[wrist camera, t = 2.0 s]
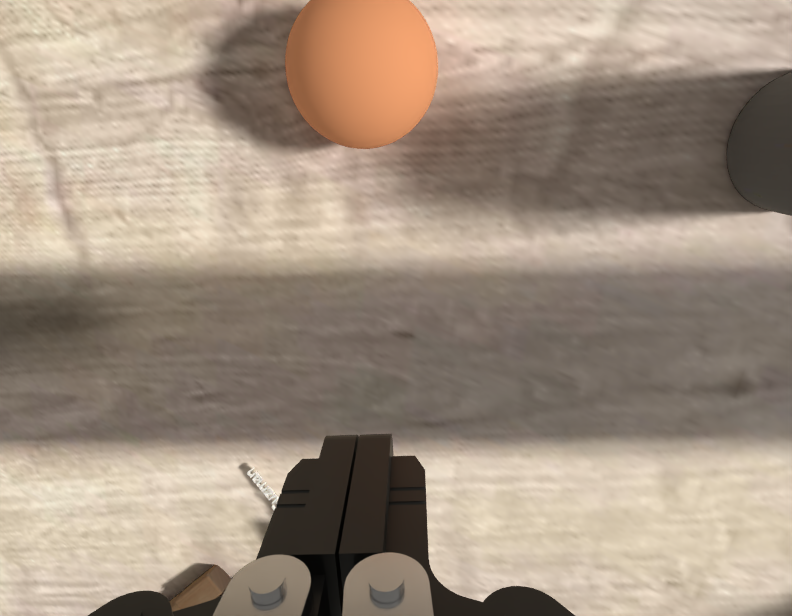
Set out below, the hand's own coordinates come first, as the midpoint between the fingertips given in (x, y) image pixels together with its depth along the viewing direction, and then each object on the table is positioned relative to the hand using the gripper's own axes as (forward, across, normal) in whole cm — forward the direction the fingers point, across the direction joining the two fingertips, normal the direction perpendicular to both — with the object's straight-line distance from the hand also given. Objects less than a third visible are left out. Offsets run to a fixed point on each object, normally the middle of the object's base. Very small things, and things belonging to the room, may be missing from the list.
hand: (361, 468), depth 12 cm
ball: (+10, 0, -10) cm, 14 cm away
